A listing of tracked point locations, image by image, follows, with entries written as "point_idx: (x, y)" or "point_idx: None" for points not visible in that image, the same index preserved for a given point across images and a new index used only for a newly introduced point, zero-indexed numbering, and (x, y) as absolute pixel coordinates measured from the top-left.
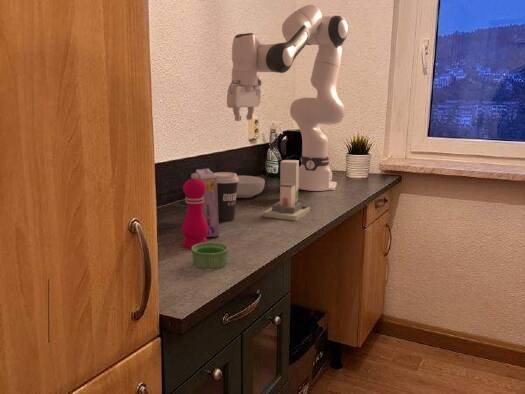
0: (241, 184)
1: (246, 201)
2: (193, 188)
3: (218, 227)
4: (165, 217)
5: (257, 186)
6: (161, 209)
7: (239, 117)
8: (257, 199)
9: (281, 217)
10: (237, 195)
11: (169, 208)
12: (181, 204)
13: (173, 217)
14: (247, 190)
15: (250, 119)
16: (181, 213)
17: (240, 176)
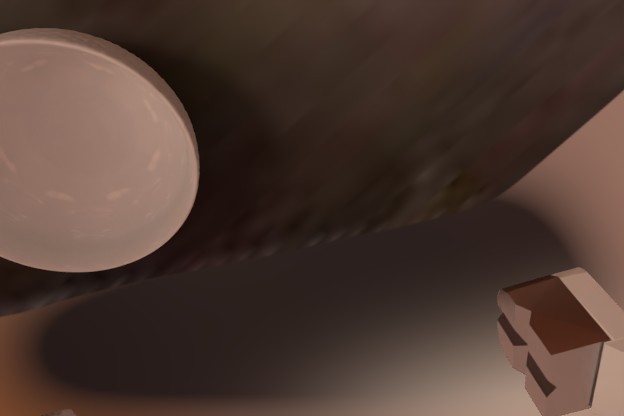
0: (168, 95)
1: (166, 27)
2: None
3: None
4: (614, 83)
5: (63, 33)
6: (516, 181)
7: (611, 305)
8: (77, 12)
9: None
10: (156, 112)
11: (490, 174)
12: (414, 191)
13: (603, 60)
14: (138, 58)
15: (50, 414)
16: (536, 85)
17: (4, 250)
